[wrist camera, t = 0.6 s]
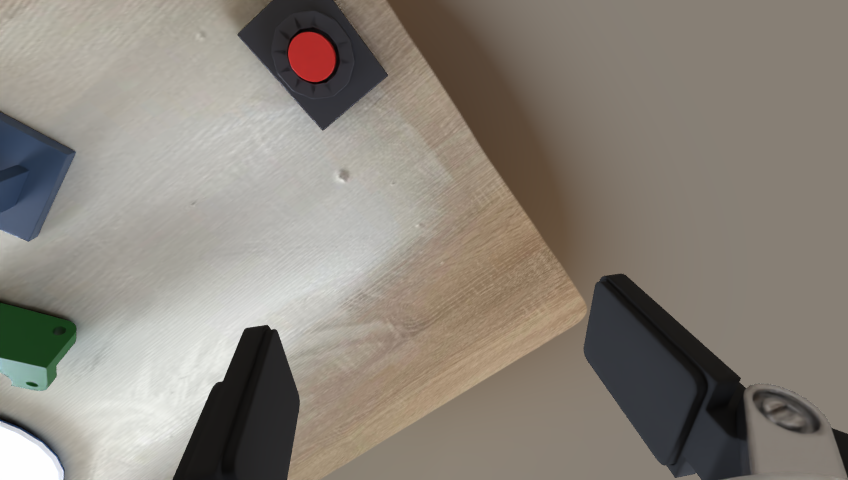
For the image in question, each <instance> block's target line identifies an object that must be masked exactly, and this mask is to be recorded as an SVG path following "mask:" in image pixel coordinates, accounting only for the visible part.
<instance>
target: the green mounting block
mask: <svg viewBox="0 0 848 480" xmlns="http://www.w3.org/2000/svg"><path fill="white" fill-rule="evenodd" d="M75 341H76V326H75V324H74V323H72V322H71V321H68V320H64V319H60V318H56V317H52V316H49V315H45V314H41V313H37V312H34V311H30V310H26V309H22V308H18V307H15V306H11V305H7V304H3V303H0V373H2V374H4V375H6V376H7V377H9V378H10V379H11V381H12V385H11V386H16V387H21V388H26V389H31V390H37V391H43V390H46V389H47V388H48V387H49V386H50V384H51V383H52V382H53V381H54V379H55V378H56V377H57V373H56V365H57V364H58V363H59V362H60V360H61V359H62V358H63V357H64V355H65V354H66V353H67V352H68V350H69V349H70V348H71V347H72V346H73V344H74V343H75Z"/></svg>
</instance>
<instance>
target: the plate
mask: <svg viewBox="0 0 848 480" xmlns="http://www.w3.org/2000/svg"><path fill="white" fill-rule="evenodd" d="M0 480H64V468H63V466H62V464H61V462H60V460H59V458H58V456H57V455H56V454H55V453H54V452H53V451H52V450H51V449H50V448H49V447H48V446H47V445H46V444H45V443H44V442H43V441H42V440H40V439H39V438H37V437H35V436H34V435H32V434H30V433H29V432H27V431H26V430H24V429H22V428H21V427H18V426H16V425H13V424H11V423H8V422H6V421H3V420H1V419H0Z"/></svg>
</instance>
